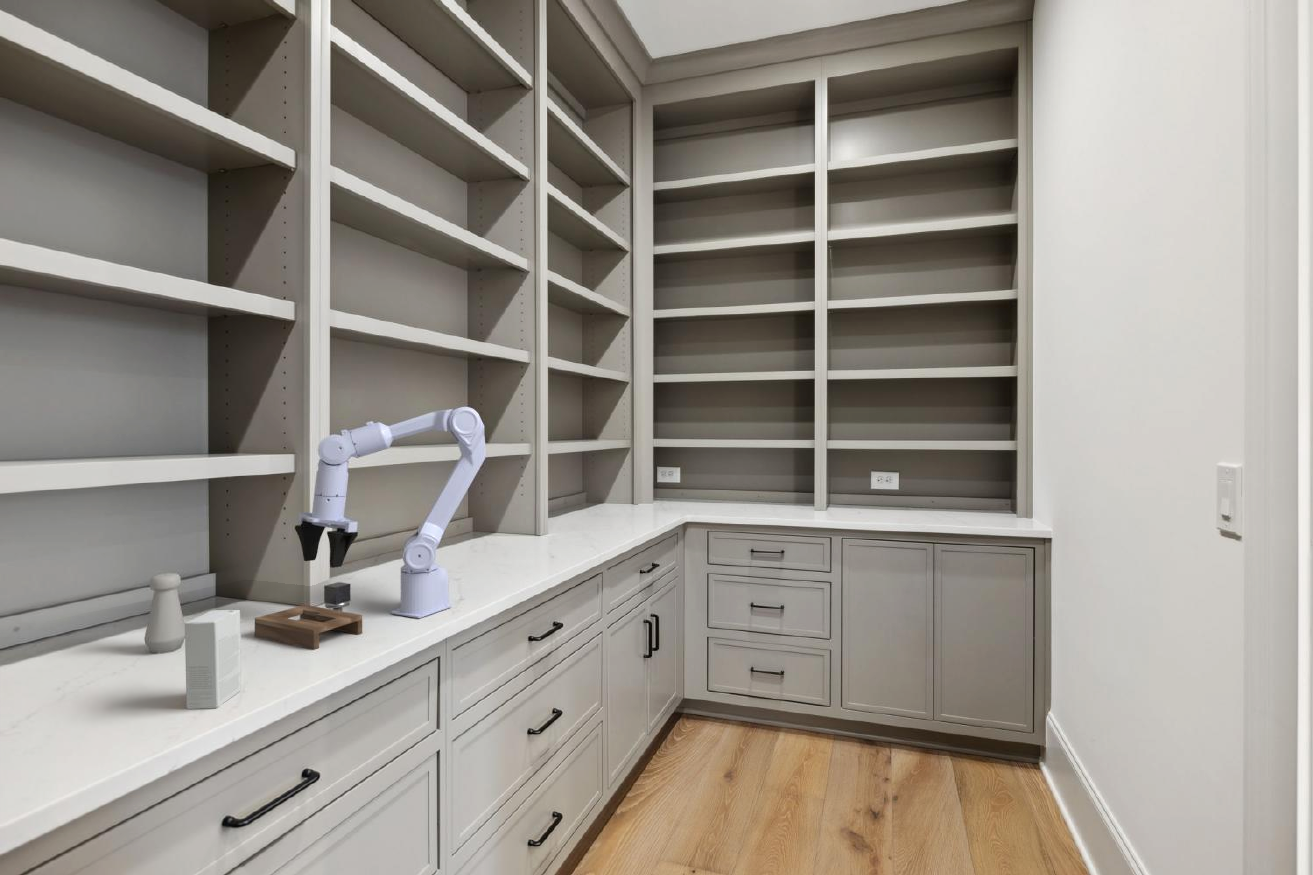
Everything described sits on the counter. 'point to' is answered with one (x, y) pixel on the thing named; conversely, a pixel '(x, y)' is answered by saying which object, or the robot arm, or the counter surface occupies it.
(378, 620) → the counter surface
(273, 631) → the keyhole plate
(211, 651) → the skincare box
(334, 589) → the dark grey key plug
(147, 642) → the salt shaker
